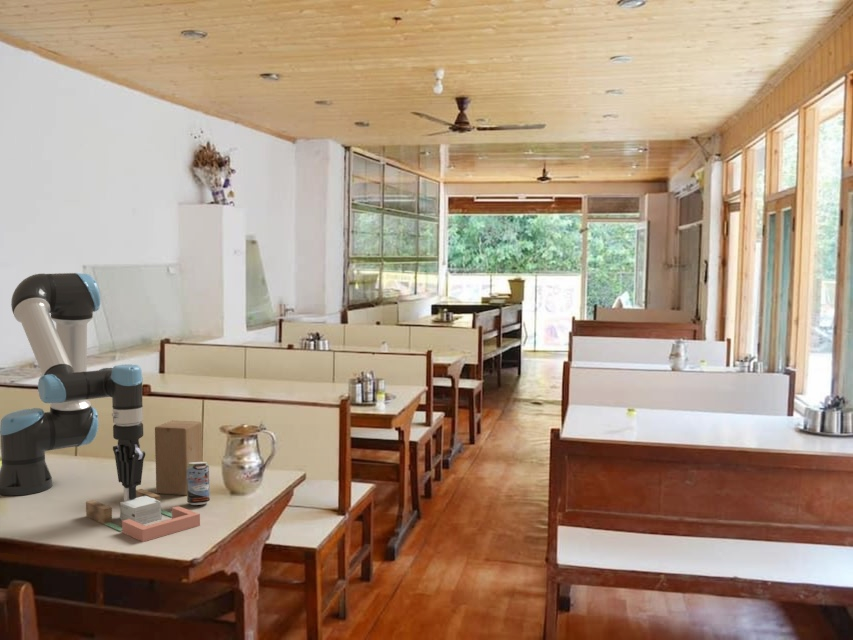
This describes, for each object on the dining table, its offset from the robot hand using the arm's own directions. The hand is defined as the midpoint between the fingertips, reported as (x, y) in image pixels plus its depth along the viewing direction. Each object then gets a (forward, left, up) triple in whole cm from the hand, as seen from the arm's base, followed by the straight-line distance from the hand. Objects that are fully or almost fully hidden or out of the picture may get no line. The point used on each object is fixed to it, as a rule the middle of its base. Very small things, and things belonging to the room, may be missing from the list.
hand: (130, 509), depth 211 cm
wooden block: (-11, +22, -2) cm, 25 cm away
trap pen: (+15, 0, -2) cm, 15 cm away
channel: (-3, 0, -2) cm, 4 cm away
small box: (+5, 0, -2) cm, 5 cm away
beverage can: (+5, +18, -2) cm, 19 cm away
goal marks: (+6, 0, -2) cm, 6 cm away
